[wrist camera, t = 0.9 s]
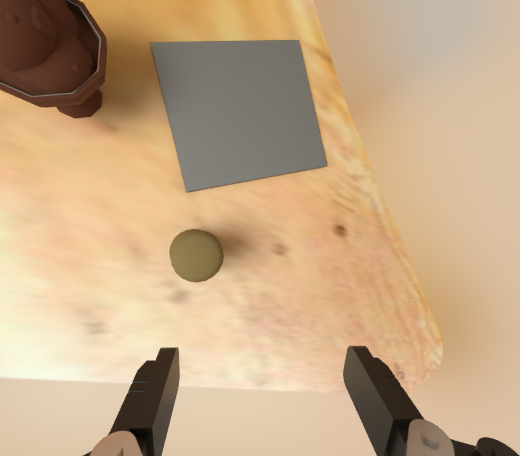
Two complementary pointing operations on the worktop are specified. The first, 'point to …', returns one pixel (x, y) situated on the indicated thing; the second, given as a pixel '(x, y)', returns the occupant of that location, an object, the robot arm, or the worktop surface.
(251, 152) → the charcoal mat
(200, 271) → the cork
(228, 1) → the worktop surface
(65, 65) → the ice cream bowl
